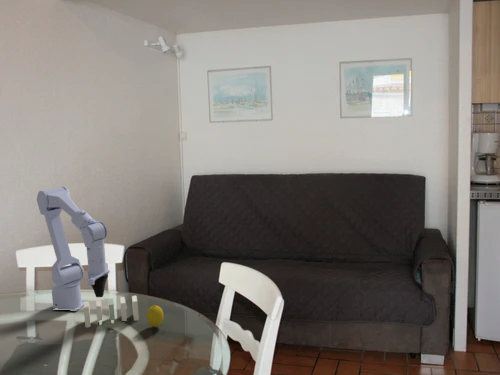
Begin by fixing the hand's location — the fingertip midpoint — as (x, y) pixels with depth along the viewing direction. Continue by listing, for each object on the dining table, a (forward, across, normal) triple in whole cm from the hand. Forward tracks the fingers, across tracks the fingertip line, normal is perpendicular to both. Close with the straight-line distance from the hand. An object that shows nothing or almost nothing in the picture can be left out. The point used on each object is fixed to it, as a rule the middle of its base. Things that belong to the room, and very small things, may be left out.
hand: (99, 296), depth 180 cm
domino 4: (+9, +2, -7) cm, 12 cm away
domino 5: (+9, +4, -11) cm, 15 cm away
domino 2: (+9, 0, 0) cm, 9 cm away
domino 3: (+9, +1, -3) cm, 10 cm away
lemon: (+10, -4, -20) cm, 22 cm away
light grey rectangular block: (+9, -2, +4) cm, 10 cm away
